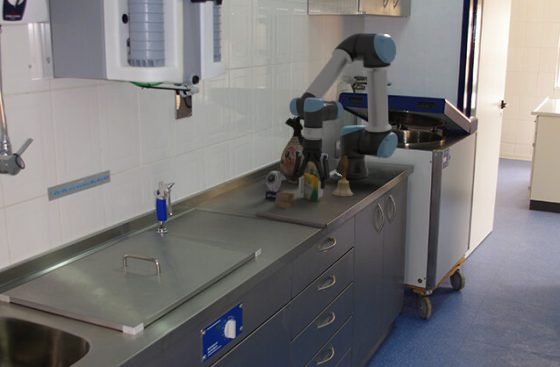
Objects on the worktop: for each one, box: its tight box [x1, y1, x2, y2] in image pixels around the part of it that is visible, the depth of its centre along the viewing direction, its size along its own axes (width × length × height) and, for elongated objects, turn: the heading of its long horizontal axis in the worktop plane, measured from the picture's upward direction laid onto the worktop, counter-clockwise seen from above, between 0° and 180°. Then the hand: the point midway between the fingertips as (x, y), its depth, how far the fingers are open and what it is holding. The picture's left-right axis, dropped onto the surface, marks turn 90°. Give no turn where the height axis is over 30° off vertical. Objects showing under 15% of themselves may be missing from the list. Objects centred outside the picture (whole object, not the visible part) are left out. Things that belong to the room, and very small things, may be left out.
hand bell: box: [332, 156, 354, 197], centre depth 270 cm, size 8×8×16 cm
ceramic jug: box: [279, 116, 316, 185], centre depth 286 cm, size 17×15×30 cm
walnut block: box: [275, 190, 295, 210], centre depth 251 cm, size 5×5×5 cm
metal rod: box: [255, 210, 328, 229], centre depth 232 cm, size 2×27×2 cm, turn 61°
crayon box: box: [303, 169, 320, 202], centre depth 261 cm, size 7×3×12 cm, turn 24°
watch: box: [264, 170, 283, 201], centre depth 260 cm, size 6×8×11 cm
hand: (310, 194), depth 262 cm, fingers open, 8 cm apart
